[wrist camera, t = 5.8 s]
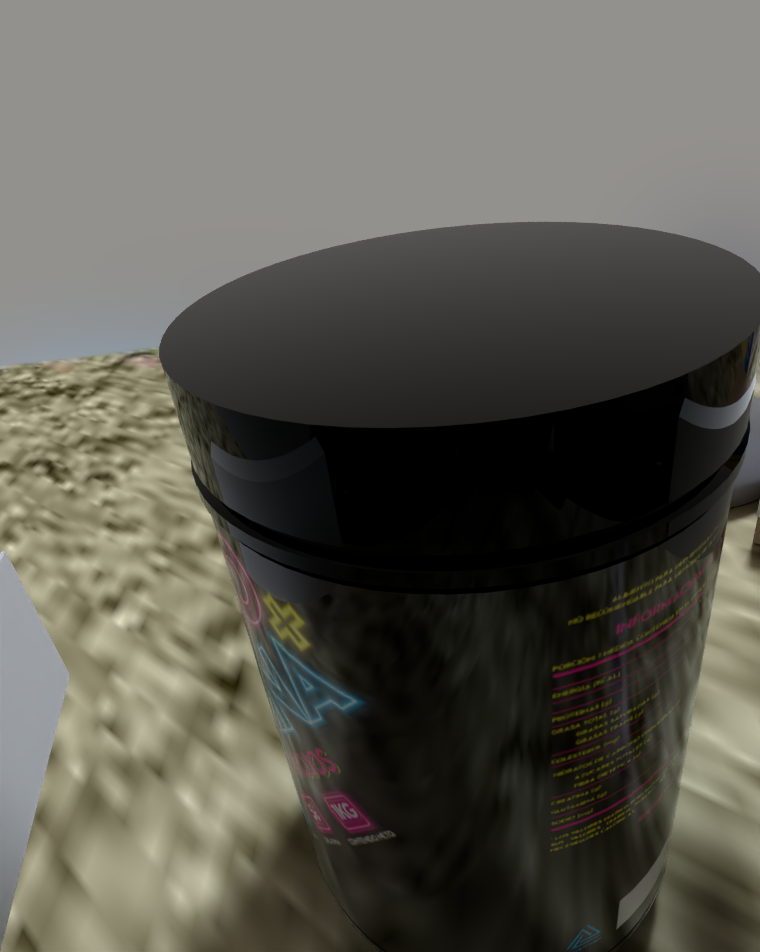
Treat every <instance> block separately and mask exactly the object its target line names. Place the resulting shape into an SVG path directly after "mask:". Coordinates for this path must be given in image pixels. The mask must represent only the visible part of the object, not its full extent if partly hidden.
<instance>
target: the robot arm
mask: <svg viewBox="0 0 760 952" xmlns="http://www.w3.org/2000/svg"><path fill="white" fill-rule="evenodd" d="M756 516H758V517H759V518H760V500H759V505H758V510H757V515H756ZM69 677H70V675H69V673H68V671H67V669H66V667H65V665H64V663H63V661H62V659H61V657H60V655H59V653H58V652H57V650H56V648H55V646H54V644H53V642H52V640H51V638H50V636H49V634H48V632H47V630H46V629H45V627H44V625H43V623H42V621H41V619H40V617H39V615H38V613H37V611H36V609H35V607H34V605H33V604H32V602H31V600H30V598H29V596H28V594H27V592H26V590H25V588H24V586H23V584H22V582H21V581H20V579H19V577H18V575H17V573H16V571H15V569H14V567H13V565H12V563H11V561H10V559H9V558H8V556H7V554H6V552H5V551H4V552H0V950H1V946H2V942H3V938H4V934H5V930H6V926H7V922H8V918H9V914H10V910H11V906H12V902H13V898H14V894H15V890H16V886H17V882H18V878H19V874H20V870H21V866H22V863H23V859H24V855H25V851H26V847H27V843H28V839H29V835H30V831H31V827H32V823H33V819H34V815H35V811H36V807H37V803H38V799H39V795H40V791H41V787H42V783H43V779H44V775H45V772H46V768H47V764H48V760H49V756H50V752H51V748H52V744H53V740H54V736H55V732H56V728H57V724H58V720H59V716H60V712H61V708H62V704H63V700H64V696H65V692H66V688H67V684H68V681H69Z"/></svg>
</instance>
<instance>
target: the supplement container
mask: <svg viewBox="0 0 760 952" xmlns="http://www.w3.org/2000/svg"><path fill="white" fill-rule="evenodd" d="M159 358H160V361H161V364H162V367H163V370H164V374H165V377H166V380H167V383H168V387H169V390H170V393H171V396H172V399H173V403H174V406H175V409H176V412H177V416H178V419H179V422H180V425H181V428H182V432H183V435H184V438H185V441H186V444H187V448H188V451H189V454H190V457H191V466H192V473H193V476H194V479H195V483H196V486H197V489H198V492H199V495H200V498H201V500H202V502H203V503H204V505H205V507H206V509H207V510H208V512H209V513H210V514H211V516H212V519H213V522H214V526H215V529H216V532H217V535H218V539H219V542H220V545H221V548H222V552H223V555H224V558H225V561H226V565H227V568H228V571H229V574H230V578H231V581H232V584H233V587H234V591H235V594H236V597H237V600H238V603H239V607H240V610H241V613H242V616H243V620H244V623H245V626H246V629H247V633H248V636H249V639H250V642H251V646H252V649H253V652H254V655H255V659H256V662H257V665H258V668H259V672H260V675H261V678H262V681H263V685H264V688H265V691H266V694H267V698H268V701H269V704H270V707H271V710H272V714H273V717H274V720H275V723H276V727H277V730H278V733H279V736H280V740H281V743H282V746H283V749H284V753H285V756H286V759H287V762H288V766H289V769H290V772H291V775H292V779H293V782H294V785H295V788H296V792H297V795H298V798H299V801H300V804H301V808H302V811H303V814H304V817H305V821H306V824H307V827H308V830H309V834H310V837H311V840H312V843H313V847H314V850H315V853H316V856H317V859H318V863H319V866H320V869H321V872H322V875H323V877H324V879H325V882H326V884H327V886H328V888H329V890H330V892H331V894H332V896H333V898H334V899H335V901H336V903H337V904H338V906H339V908H340V909H341V910H342V912H343V913H344V914H345V916H346V917H347V918H348V920H349V921H350V922H351V924H352V925H353V926H354V927H355V928H356V929H357V930H358V931H359V932H360V933H361V935H362V936H363V937H364V938H365V939H366V940H367V941H369V942H370V943H371V944H372V945H373V946H374V947H376V948H377V949H378V950H379V951H380V952H615V951H616V950H617V949H618V948H619V947H620V946H621V945H623V944H624V943H625V942H626V941H627V940H628V938H629V937H630V936H631V935H632V934H633V933H634V931H635V930H636V929H637V928H638V927H639V925H640V924H641V922H642V921H643V919H644V918H645V916H646V915H647V913H648V911H649V910H650V908H651V906H652V904H653V902H654V900H655V898H656V895H657V893H658V891H659V888H660V885H661V882H662V879H663V876H664V873H665V868H666V862H667V857H668V851H669V846H670V840H671V835H672V829H673V823H674V818H675V812H676V807H677V801H678V795H679V790H680V784H681V778H682V773H683V767H684V762H685V756H686V750H687V745H688V739H689V734H690V728H691V722H692V717H693V711H694V705H695V700H696V694H697V689H698V683H699V677H700V672H701V666H702V660H703V655H704V649H705V644H706V638H707V632H708V627H709V621H710V616H711V610H712V604H713V599H714V593H715V587H716V582H717V576H718V571H719V565H720V559H721V554H722V548H723V543H724V537H725V531H726V526H727V520H728V514H729V509H730V503H731V498H732V492H733V486H734V481H735V479H736V477H737V476H738V474H739V472H740V469H741V467H742V465H743V462H744V460H745V456H746V450H747V445H748V439H749V434H750V410H751V404H752V399H753V393H754V388H755V382H756V377H757V371H758V366H759V360H760V273H759V272H758V271H757V270H756V268H755V267H753V266H752V265H750V264H749V263H748V262H747V261H745V260H744V259H742V258H740V257H739V256H737V255H735V254H733V253H731V252H729V251H727V250H724V249H722V248H719V247H717V246H715V245H712V244H709V243H706V242H703V241H700V240H697V239H693V238H688V237H685V236H681V235H676V234H671V233H667V232H662V231H656V230H649V229H643V228H637V227H628V226H619V225H608V224H596V223H575V222H515V223H494V224H479V225H466V226H455V227H446V228H437V229H429V230H421V231H414V232H408V233H401V234H395V235H389V236H384V237H377V238H373V239H367V240H362V241H358V242H353V243H348V244H344V245H340V246H335V247H331V248H328V249H323V250H319V251H316V252H312V253H309V254H305V255H302V256H298V257H295V258H292V259H289V260H286V261H282V262H280V263H276V264H274V265H271V266H268V267H265V268H263V269H260V270H257V271H255V272H252V273H250V274H247V275H245V276H243V277H240V278H238V279H236V280H234V281H232V282H230V283H227V284H225V285H223V286H222V287H220V288H218V289H216V290H214V291H212V292H211V293H209V294H207V295H205V296H204V297H202V298H201V299H199V300H198V301H196V302H195V303H193V304H192V305H191V306H189V307H188V308H187V309H185V310H184V311H183V312H182V313H181V314H180V315H179V316H178V317H176V319H175V320H174V321H173V322H172V323H171V324H170V326H169V327H168V328H167V330H166V332H165V334H164V335H163V337H162V340H161V343H160V347H159Z"/></svg>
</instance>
